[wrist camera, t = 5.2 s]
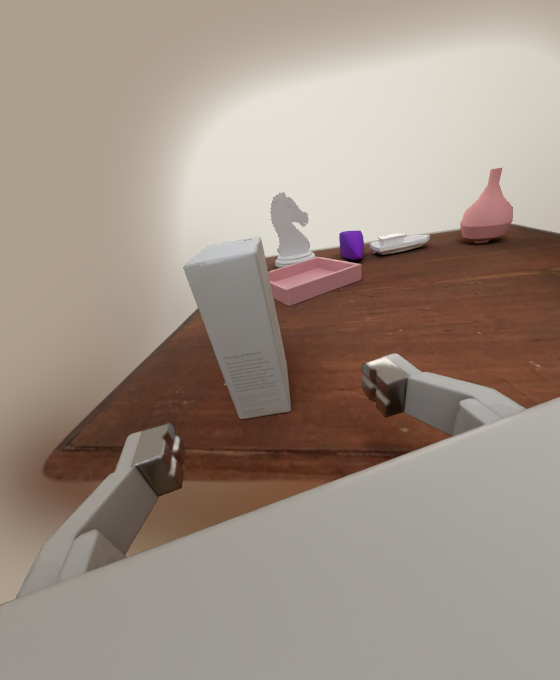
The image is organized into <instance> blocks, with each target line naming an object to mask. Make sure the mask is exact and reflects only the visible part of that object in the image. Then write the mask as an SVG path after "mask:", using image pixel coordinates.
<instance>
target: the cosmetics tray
mask: <svg viewBox="0 0 560 680" xmlns="http://www.w3.org/2000/svg"><path fill="white" fill-rule="evenodd" d="M268 275H269V280H270V285H271V290H272V295H273V298H274V299H276V300H278V301H280V302H282V303H284V304H286V305H288V306H291V305H294V304H297V303H299V302H302V301H305V300H307V299H310V298H313V297H316V296H318V295H321V294H324V293H326V292H329V291H332V290H334V289H337V288H340V287H343V286H345V285H348V284H351V283H353V282H356V281H359V280H361V264H357V263H351V262H345V261H340V260H334V259H328V258H322V257H316V258H312V259H309V260H305V261H302V262H299V263H296V264H292V265H289V266H286V267H283V268H279V269H276V270H273V271H270V272H268Z"/></svg>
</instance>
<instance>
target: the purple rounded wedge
mask: <svg viewBox="0 0 560 680" xmlns="http://www.w3.org/2000/svg"><path fill="white" fill-rule="evenodd" d="M363 251H364V242H363V235H362V233H361V231H346V232H342V233H340V252H341V256H342V257H344V258H345V259H349V260H358V259H361V258H363Z"/></svg>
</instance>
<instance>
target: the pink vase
mask: <svg viewBox="0 0 560 680" xmlns="http://www.w3.org/2000/svg"><path fill="white" fill-rule="evenodd" d="M501 172H502V168H498V169H492V170H491V172H490V177H489V182H488V186H487V187H486V188H485V190H484V192H483V193H482V194H481V196H480V197H479V199H478V200H477V201H476V202H475V203H474V204H473V205H472V206H471V207H470V208H468V209H467V210H466V211H465V213H464V216H463V219H462V221H461V232H462V237H464V238H467V239H470V240H473V241H474V243H486V242H488V241H489V240H490V239H493V238H496V237H499V236H502V235H504V234H505V232H506V231H507V229H508V227H509V226H510V224H511V222H512V218H513V207H512V206H511V205H510V203H509V202H508V201H506V199H505V198H504V197H503V194H502V191H501V189H500V186H499V180H500V176H501Z"/></svg>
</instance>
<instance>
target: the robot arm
mask: <svg viewBox="0 0 560 680" xmlns="http://www.w3.org/2000/svg"><path fill="white" fill-rule="evenodd" d="M362 372H363V373H364V374H365V375H364V377H363V378H362V387H363V390H364V392H365V394H366V396H367V397H368V398H369V399H370V400H372V401H374V402H376V407H377V409H378V410H379V411H380V412H381V413H382V414H383V416H384V417H385V418H386V417H389V416H392V415H396V414H399V413H402V412H404V413H406V414H408V415H410V416H412V417H414V418H416V419H418V420H420V421H422V422H424V423H426V424H428V425H430V426H432V427H434V428H436V429H438V430H440V431H443V432H445V433H447V434H449V435H451V437H450V438H447V439H445V440H442V441H439V442H437V443H434V444H431V445H429V446H426V447H423V448H420V449H418V450H415V451H412V452H410V453H407V454H404V455H402V456H399V457H396V458H394V459H391V460H388V461H386V462H383V463H380V464H378V465H375V466H372V467H369V468H367V469H364V470H361V471H359V472H356V473H353V474H351V475H348V476H345V477H343V478H340V479H337V480H335V481H332V482H329V483H327V484H324V485H321V486H318V487H316V488H313V489H310V490H308V491H305V492H302V493H300V494H297V495H294V496H291V497H289V498H286V499H283V500H281V501H278V502H275V503H273V504H270V505H267V506H264V507H262V508H259V509H256V510H254V511H251V512H248V513H246V514H243V515H240V516H238V517H235V518H232V519H230V520H227V521H224V522H221V523H219V524H216V525H213V526H211V527H208V528H205V529H203V530H200V531H197V532H194V533H192V534H189V535H187V536H184V537H181V538H178V539H176V540H173V541H170V542H168V543H165V544H162V545H159V546H157V547H154V548H151V549H149V550H146V551H143V552H141V553H138V554H136V555H133V556H130V557H126V556H125V554H126V552H127V551H128V549H129V547H130V545H131V544H132V542H133V540H134V539H135V537H136V535H137V534H138V532H139V530H140V528H141V527H142V525H143V523H144V522H145V520H146V518H147V517H148V515H149V513H150V512H151V510H152V508H153V506H154V505H155V503H156V501H157V499H158V497H159V496H161V495H164V494H167V493H169V492H172V491H175V490H177V489H180V488H182V481H183V470H182V468H181V465H182V464H183V462H184V461H185V450H184V445H183V442H182V440H181V438H180V437H179V436H177V435H175V432H176V429H175V427H174V425H173V424H172V423H167V424H164V425H160V426H157V427H153V428H150V429H146V430H144V431H140V432H137V433H133V434H130V435H129V436H128V437H127V439H126V442H125V445H124V448H123V450H122V453H121V456H120V459H119V461H118V464H117V467H116V470H115V472H114V473H112V474H110V475H109V476H108V477H107V478H106V479H105V480H104V481H103V482H102V483H101V484H100V485H99V486H98V487H97V489H95V491H94V492H93V493H92V494H91V495H90V496H89V497H88V498H87V499H86V500H85V501H84V502H83V503H82V504H81V505H80V507H78V509H77V510H76V511H75V512H74V513H73V514H72V515H71V516H70V517H69V518H68V519H67V520H66V521H65V522H64V523H63V524H62V526H61V527H60V528H59V529H58V530H57V531H56V532H55V533H54V534H53V535H52V536H51V537H50V538H49V539H48V540H47V541H46V542H45V544H44V545H43V546H42V547H41V549H40V551H39V553H38V555H37V557H36V559H35V561H34V563H33V565H32V567H31V569H30V571H29V573H28V575H27V577H26V579H25V581H24V583H23V585H22V587H21V589H20V591H19V593H18V595H17V597H16V599H14V600H11V601H9V602H6V603H3V604H1V605H0V680H560V397H558V398H555V399H553V400H550V401H547V402H544V403H542V404H539V405H536V406H534V407H531V408H528V409H525V408H524V407H522V406H521V405H519V404H517V403H516V402H514V401H512V400H511V399H509V398H508V397H506V396H504V395H503V394H501V393H500V392H498V391H496V390H495V389H493V388H489V387H485V386H481V385H477V384H473V383H469V382H465V381H461V380H457V379H453V378H449V377H445V376H441V375H437V374H433V373H429V372H423V373H422V372H421V371H420V370H418V369H417V368H416V367H414V366H413V365H412V364H410V363H409V362H407V361H406V360H405V359H403V358H402V357H401V356H399V355H398V354H395V353H393V354H390V355H387V356H384V357H382V358H379V359H376V360H372V361H369V362H366V363H363V364H362Z"/></svg>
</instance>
